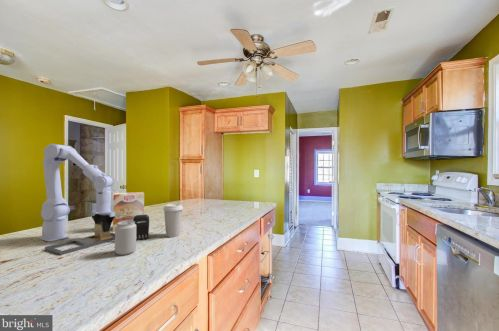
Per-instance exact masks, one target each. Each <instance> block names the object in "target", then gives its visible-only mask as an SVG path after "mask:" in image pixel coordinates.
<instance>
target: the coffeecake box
mask: <svg viewBox="0 0 499 331" xmlns="http://www.w3.org/2000/svg"><path fill="white" fill-rule="evenodd" d="M112 201H113V204H112V211H113V212H115V218H114V219H113V221H112V232H115V227H116V226H117V223H119V222H122V221H133V217H134V216H135V215H141V214H145V192H144V191H141V192H140V191H139V192H137V191H136V192H114V193H113V198H112Z"/></svg>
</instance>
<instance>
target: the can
mask: <svg viewBox="0 0 499 331" xmlns="http://www.w3.org/2000/svg"><path fill="white" fill-rule="evenodd" d="M114 234H115V240H114V253H115V254H117V256H128V255H131V254H133V253H135V251H136V250H137V240H136V224H135V222H134V221H122V222H119V223H117V226H116V227H115V231H114Z"/></svg>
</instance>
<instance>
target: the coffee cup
mask: <svg viewBox="0 0 499 331" xmlns="http://www.w3.org/2000/svg"><path fill="white" fill-rule="evenodd" d="M162 210H163V214H164V225H165V226H164V228H165V236H166V238H167V237H168V238H176V237H180V235H181V227H182V226H181V225H182V216H183V210H184V206H183V205H182V204H180V203H169V204H164V207H163V208H162Z"/></svg>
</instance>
